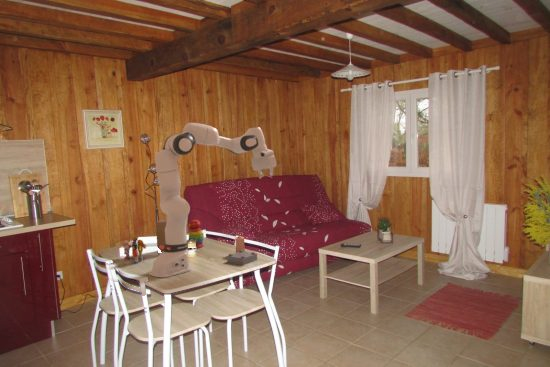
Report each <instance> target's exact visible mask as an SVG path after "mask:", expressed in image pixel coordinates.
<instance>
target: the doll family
mask: <svg viewBox="0 0 550 367" xmlns="http://www.w3.org/2000/svg"><path fill="white" fill-rule="evenodd" d="M131 241H132V242H131V244H129V243H130V242H129V241H128V240H124V241H123V242H122V245H121V247H123V251H124V252H123V254H124V255H125V257H124V260H130V259H131V257H130V250H132V260H133V261H132V265H138V264H139V263H140V262H143V261H144V259H143V258H144V257H143V250H145V249H146V248H147V245H146V244H145V243H144V241H143V240H142V239H139V236H132V237H131Z"/></svg>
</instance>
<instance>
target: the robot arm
mask: <svg viewBox="0 0 550 367" xmlns="http://www.w3.org/2000/svg"><path fill="white" fill-rule="evenodd" d="M195 144H198V145H202V146H208V147H218V148H221V149H224V150H228V151H229V152H231V153H232V154H234V155H241V154H244V153H248V152H251V151H252V154H253V155H252V156H251V167H252V169H253V171H257V173H258V174H259V177H260V178H263V177H265V174H264V173H263V171H262V170H267V169H268V170H269V173H268V174H269V176H270V177H272V176H274V168H277V164H278V163H277V160H276V157H275V155H274V154H275V153H274V152H275V151H274V150H272V149H269V148H268V146H267V145H266V139H265V136H264V133H263V130H262V129H261V127H259V126H253V127H248V129H247V130H246V132H245V133H244V134H243V135H241V136H238V137H233V138H228V137H224V136H220V134H219V130H218V129H217V128H216V127H213V126H212V125H208V124H203V123H199V122H188V123H186V124H185V125H184V127H183V128H182V133H177V134H172V135H169V136H168V137H167V138H166V139H165V142H164V145H163V148H162V149H161V150H159V151H158V152H157V153H156V154H155V167H156V174H157V179H158V181H157V182H158V184H159V185H158V186H159V200H160V201H159V202H160V203H159V208H160V210H161V211H162V213H163V214H165V215H166V219H167V223H166V227H165V242H166V243H165V245H164V246H162V245H160V246H159V248H160V249H163V252H162V253H161V254H159V256H157V257H156V258H155V260H154V261H153V263H152V264H153V265H152V269H151V270H148V275H149V276H152V277H154V278H155V277H156V278H169V277H173V276H175V275H181V274H184V273H188V272H191V268H192V265H191V262H190V260H189V259H190V257H189V253H188V252H189V249H188V244H189V242H188V239H187V238H188V236H187V224H188V218H189V217H188V216H189V214H190V210H191V206H190V204H189V202H188V201H187V200H186V199H184V198H183V197H181V185H182V182H181V181H182V180H181V175H180V170H179V165H178V158H179V156H186V155H189V154H190V153H191V152H192V151H193V150H194V146H195Z"/></svg>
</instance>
